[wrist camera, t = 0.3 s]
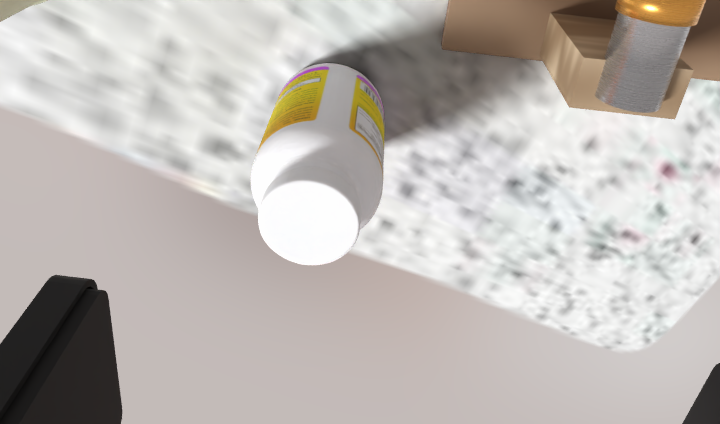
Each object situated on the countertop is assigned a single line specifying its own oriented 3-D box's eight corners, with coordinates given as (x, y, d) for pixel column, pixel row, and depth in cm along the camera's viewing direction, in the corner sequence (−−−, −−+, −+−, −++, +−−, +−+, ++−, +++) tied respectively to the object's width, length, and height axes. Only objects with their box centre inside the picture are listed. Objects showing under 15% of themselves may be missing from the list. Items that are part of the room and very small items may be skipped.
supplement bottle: (266, 139, 42) (219, 257, 31) (295, 44, 38) (254, 138, 27) (364, 172, 42) (353, 298, 32) (401, 82, 39) (403, 188, 28)
